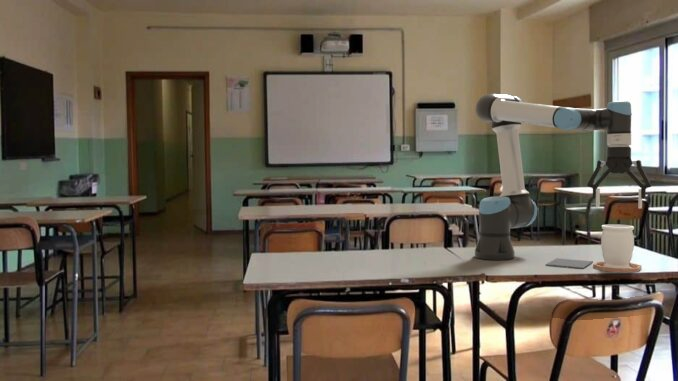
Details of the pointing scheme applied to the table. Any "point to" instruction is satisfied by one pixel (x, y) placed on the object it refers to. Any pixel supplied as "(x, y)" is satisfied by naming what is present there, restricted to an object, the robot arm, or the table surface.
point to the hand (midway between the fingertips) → (618, 207)
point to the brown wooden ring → (635, 269)
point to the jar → (617, 245)
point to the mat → (569, 263)
